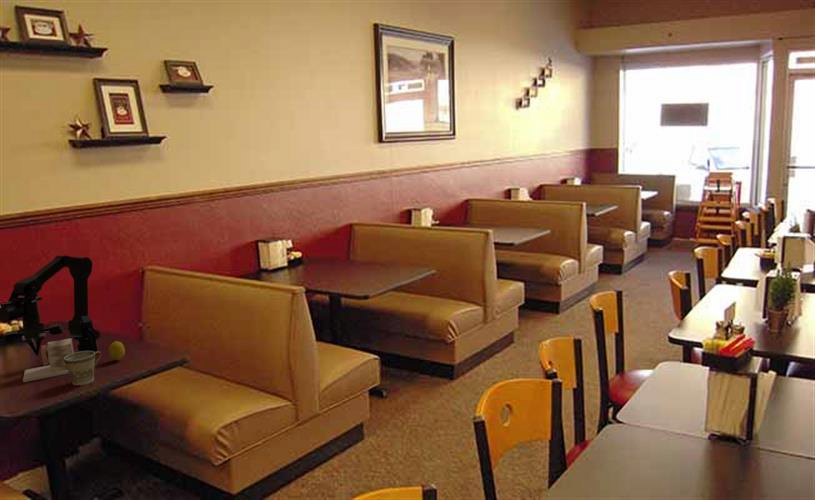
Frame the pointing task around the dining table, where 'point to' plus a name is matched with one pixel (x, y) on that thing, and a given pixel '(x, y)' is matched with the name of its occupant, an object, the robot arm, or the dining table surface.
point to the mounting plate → (41, 373)
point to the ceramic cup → (81, 366)
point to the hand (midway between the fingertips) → (37, 355)
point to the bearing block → (59, 353)
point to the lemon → (116, 350)
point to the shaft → (44, 354)
